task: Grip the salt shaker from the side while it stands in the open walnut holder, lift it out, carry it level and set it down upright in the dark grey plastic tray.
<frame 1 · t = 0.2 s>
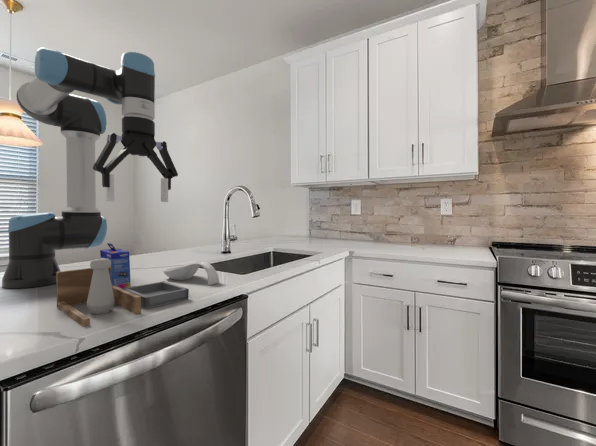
hand: (139, 201, 81), 27 cm above the worktop, tool pointing down, fingers open, 13 cm apart
spoon rest: (191, 281, 112), on the worktop
ink cartridge box: (115, 289, 98), on the worktop
salt shaker: (101, 312, 76), resting in holder
holder: (97, 309, 77), on the worktop
tray: (155, 298, 87), on the worktop
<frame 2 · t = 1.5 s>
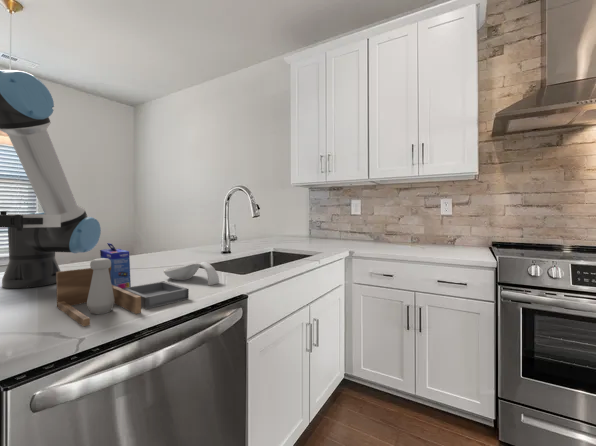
hand: (51, 220, 74), 22 cm above the worktop, tool horizontal, fingers open, 13 cm apart
nothing on the worktop moved.
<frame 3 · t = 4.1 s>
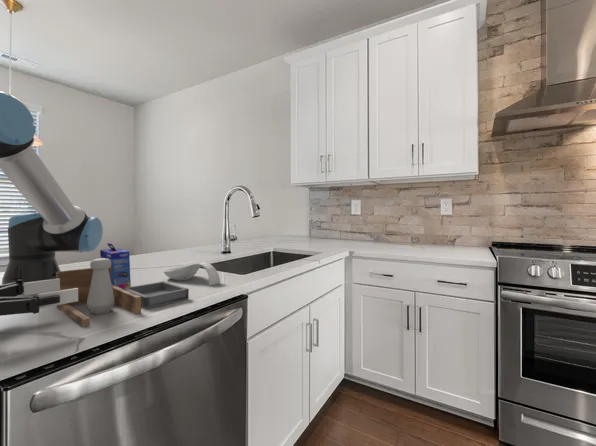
hand: (68, 289, 70), 7 cm above the worktop, tool horizontal, fingers open, 13 cm apart
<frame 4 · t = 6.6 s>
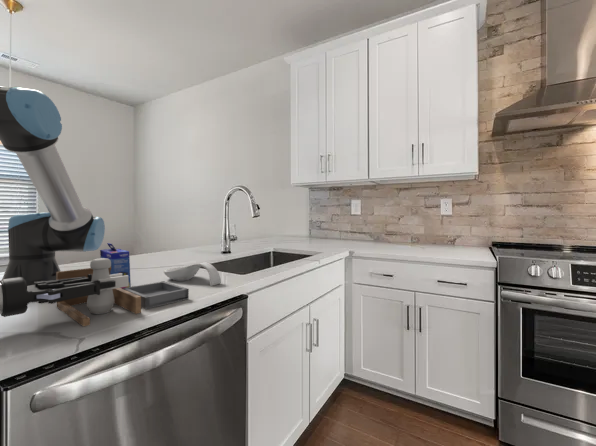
hand: (124, 279, 80), 7 cm above the worktop, tool horizontal, fingers closed on salt shaker, 3 cm apart
salt shaker: (100, 312, 76), resting in holder, touching gripper
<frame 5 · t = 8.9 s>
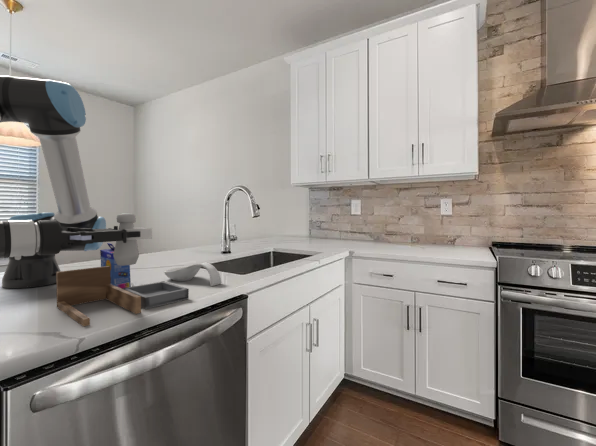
hand: (148, 232, 83), 19 cm above the worktop, tool horizontal, fingers closed on salt shaker, 3 cm apart
salt shaker: (126, 264, 80), point 11 cm above the worktop, touching gripper
when the fingers open (9 cm above the worktop, at t = 11.5 s): salt shaker stays where it is, resting on tray.
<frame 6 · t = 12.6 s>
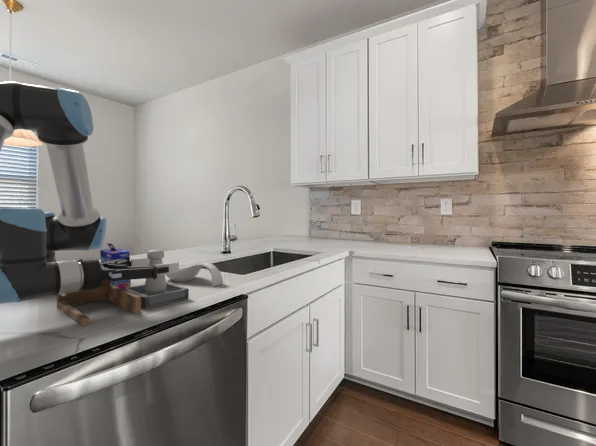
hand: (165, 264, 89), 9 cm above the worktop, tool horizontal, fingers open, 13 cm apart
salt shaker: (155, 296, 87), point 1 cm above the worktop, touching tray
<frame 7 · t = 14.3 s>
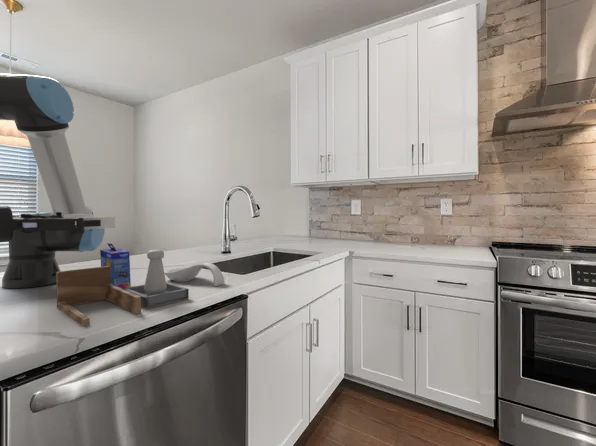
hand: (103, 220, 78), 22 cm above the worktop, tool horizontal, fingers open, 13 cm apart
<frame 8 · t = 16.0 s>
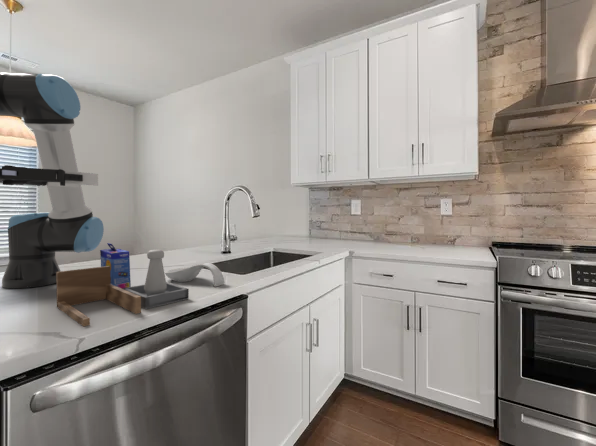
hand: (87, 181, 78), 32 cm above the worktop, tool horizontal, fingers open, 13 cm apart
at the end: salt shaker inside the target area on the tray (0.0 cm from its centre), point 0.6 cm above the tray's base; salt shaker tilted 0°; the gripper is holding nothing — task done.
